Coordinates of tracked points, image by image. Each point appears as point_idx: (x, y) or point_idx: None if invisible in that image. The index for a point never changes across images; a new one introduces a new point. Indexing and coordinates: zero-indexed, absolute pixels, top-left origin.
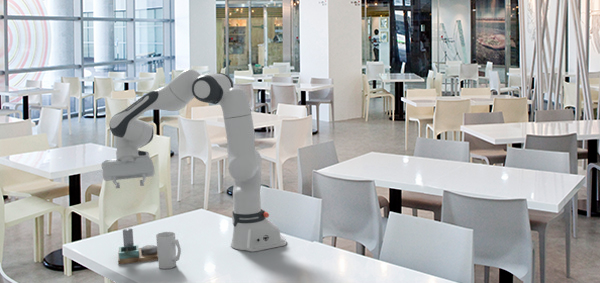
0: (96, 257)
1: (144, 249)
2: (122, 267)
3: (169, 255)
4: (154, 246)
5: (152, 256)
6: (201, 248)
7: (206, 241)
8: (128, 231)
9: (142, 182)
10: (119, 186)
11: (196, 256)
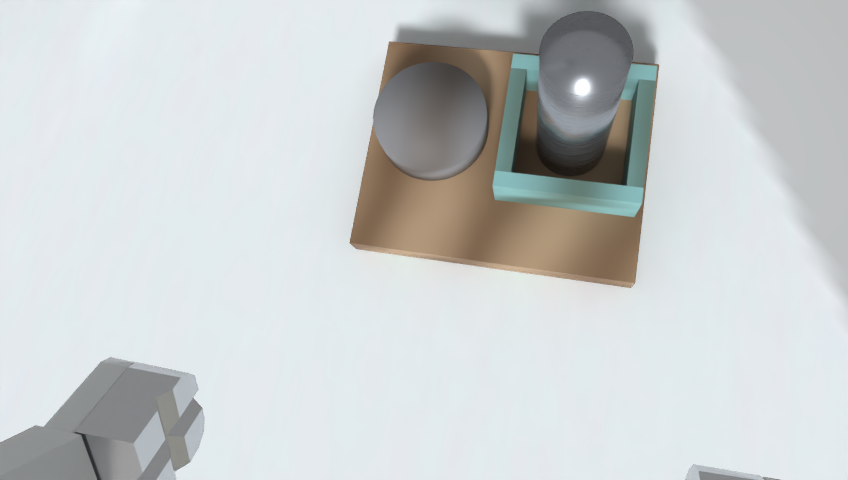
0: (799, 297)
1: (466, 91)
2: (633, 19)
3: None
4: (388, 123)
5: (431, 49)
6: (112, 137)
7: (31, 256)
8: (583, 12)
9: (122, 376)
10: (692, 467)
11: (189, 16)
